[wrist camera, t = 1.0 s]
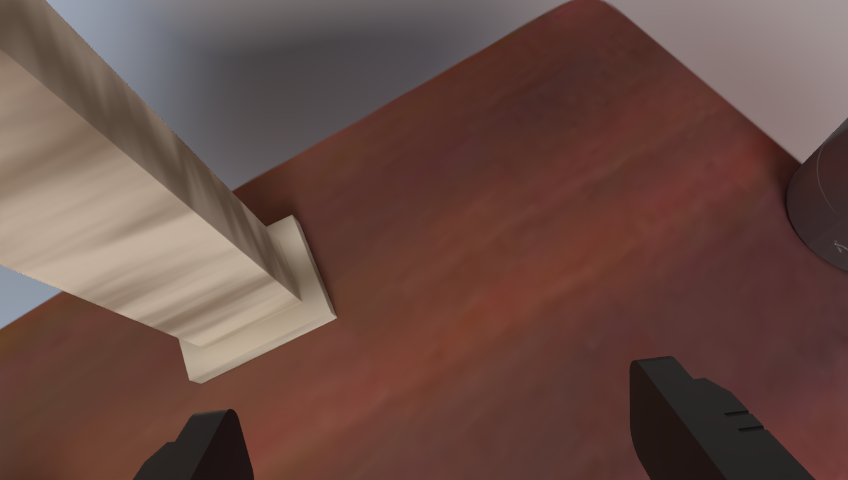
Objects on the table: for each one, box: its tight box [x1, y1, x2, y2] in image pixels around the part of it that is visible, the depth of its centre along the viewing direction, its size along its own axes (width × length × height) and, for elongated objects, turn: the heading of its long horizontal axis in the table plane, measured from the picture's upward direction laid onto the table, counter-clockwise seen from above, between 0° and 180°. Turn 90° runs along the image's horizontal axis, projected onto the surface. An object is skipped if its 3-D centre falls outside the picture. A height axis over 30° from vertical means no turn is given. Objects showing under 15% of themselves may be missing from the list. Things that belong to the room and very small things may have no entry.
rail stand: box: [0, 0, 337, 383], centre depth 22 cm, size 17×10×32 cm, turn 25°
